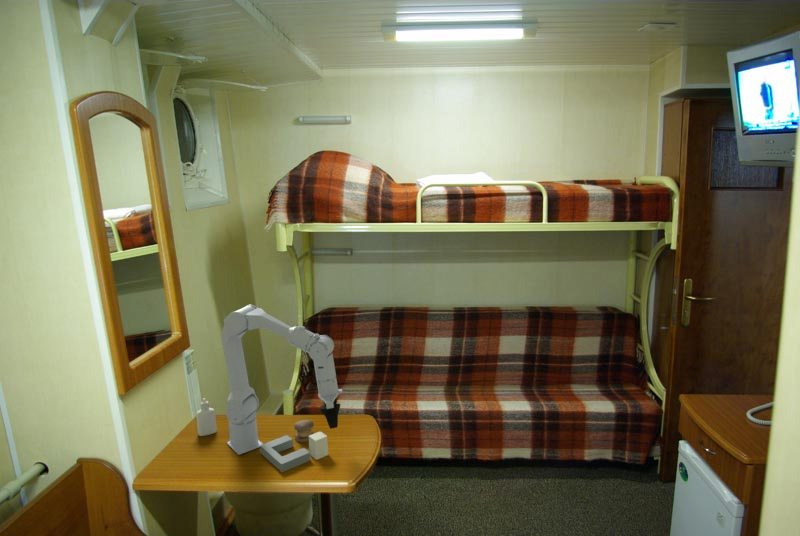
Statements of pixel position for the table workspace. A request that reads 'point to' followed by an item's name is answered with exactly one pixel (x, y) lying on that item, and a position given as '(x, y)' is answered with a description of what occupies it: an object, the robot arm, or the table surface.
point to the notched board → (288, 460)
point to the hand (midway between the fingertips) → (333, 421)
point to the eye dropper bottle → (206, 419)
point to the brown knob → (303, 430)
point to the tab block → (318, 445)
